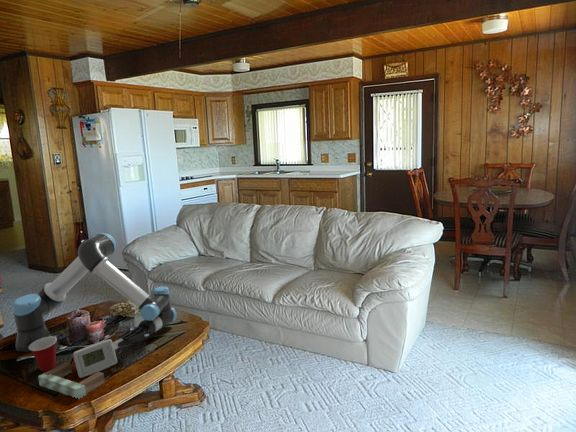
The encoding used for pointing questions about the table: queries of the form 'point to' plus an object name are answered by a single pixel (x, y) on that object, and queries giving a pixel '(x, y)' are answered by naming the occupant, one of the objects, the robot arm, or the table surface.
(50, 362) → the plastic cup
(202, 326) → the table surface
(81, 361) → the digital clock
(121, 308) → the mineral formation
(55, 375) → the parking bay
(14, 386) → the table surface
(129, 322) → the table surface
